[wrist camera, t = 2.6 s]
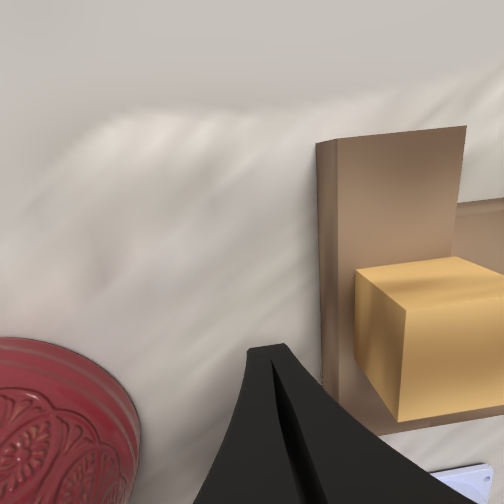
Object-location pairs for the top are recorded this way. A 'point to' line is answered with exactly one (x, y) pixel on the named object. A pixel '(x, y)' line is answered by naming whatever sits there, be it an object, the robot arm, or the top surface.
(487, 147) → the top surface
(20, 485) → the canister
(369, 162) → the wooden slab structure
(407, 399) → the block
